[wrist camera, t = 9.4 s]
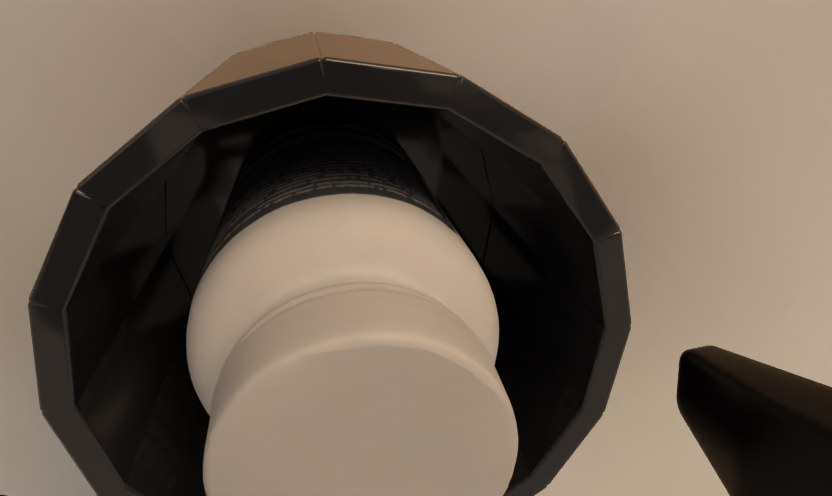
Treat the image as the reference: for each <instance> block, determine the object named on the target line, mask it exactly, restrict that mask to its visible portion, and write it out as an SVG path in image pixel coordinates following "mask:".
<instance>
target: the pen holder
mask: <svg viewBox="0 0 832 496" xmlns="http://www.w3.org/2000/svg"><path fill="white" fill-rule="evenodd" d="M329 123H335V124H347V125H353V126H357V127H361V128H364V129H367V130H370V131H372V132H374V133H377V134H379V135H381V136H383V137H384V138H386V139H387V140H389V141H390V142H392V143H393V144H395V145H396V146H397V147H398V148H400V149H401V150H402V151H403V152H404V153H405V154H406V155H407V156H408V157H409V158H410V160H411V161H412V162H413V163H414V165H415V166H416V167H417V169H418V170H419V172H420V173H421V175H422V176H423V178H424V180H425V181H426V183H427V185H428V187H429V189H430V190H431V192H432V194H433V195H434V197H435V199H436V200H437V202H438V204H439V205H440V207H441V209H442V210H443V212H444V214H445V215H446V217H447V218H448V220H449V221H450V222H451V224H452V225H453V227H454V228H455V230H456V231H457V232H458V234H459V235H460V237H461V238H462V240H463V241H464V242H465V244H466V245H467V247H468V248H469V250H470V251H471V252H472V254H473V255H474V257H475V259H476V260H477V262H478V264H479V265H480V267H481V269H482V270H483V272H484V274H485V276H486V278H487V280H488V282H489V285H490V287H491V290H492V293H493V295H494V299H495V303H496V308H497V313H498V318H499V343H498V350H497V356H496V360H495V365H494V366H495V369H496V371H497V373H498V375H499V377H500V380H501V382H502V384H503V386H504V389H505V391H506V393H507V396H508V398H509V400H510V403H511V406H512V409H513V412H514V416H515V420H516V424H517V432H518V452H517V458H516V463H515V467H514V471H513V474H512V477H511V480H510V482H509V484H508V488H507V490H506V491H505V493H504V495H503V496H534V495H536V494H537V493H539V492H540V491H542V490H543V489H545V488H546V487H547V485H548V484H550V482H551V481H552V480H553V478H554V477H555V476H556V475H557V473H558V472H559V471H560V469H561V468H562V467H563V466H564V464H565V463H566V462H567V460H568V459H569V458H570V457H571V455H572V454H573V453H574V451H575V450H576V449H577V447H578V446H579V445H580V444H581V442H582V441H583V440H584V438H585V437H586V436H587V435H588V433H589V432H590V431H591V429H592V428H593V427H594V426H595V424H596V423H597V422H598V420H599V419H600V418H601V417H602V414H603V412H604V411H605V408H606V405H607V402H608V399H609V396H610V393H611V389H612V386H613V383H614V380H615V377H616V374H617V370H618V367H619V364H620V361H621V358H622V355H623V351H624V348H625V345H626V342H627V339H628V335H629V332H630V329H631V326H630V325H631V316H630V307H629V298H628V288H627V279H626V270H625V261H624V252H623V243H622V233H621V231H620V228H619V225H618V223H617V222H616V220H615V219H614V217H613V216H612V214H611V212H610V211H609V209H608V208H607V206H606V204H605V203H604V201H603V200H602V198H601V196H600V195H599V193H598V192H597V190H596V189H595V187H594V185H593V184H592V182H591V181H590V179H589V177H588V176H587V174H586V173H585V171H584V170H583V168H582V166H581V165H580V163H579V162H578V160H577V158H576V157H575V155H574V154H573V152H572V151H571V149H570V147H569V146H568V144H567V143H566V142H565V141H564V140H563V139H562V138H561V137H560V136H559V135H557V134H555V133H554V132H552V131H551V130H549V129H547V128H546V127H544V126H543V125H541V124H539V123H538V122H536V121H535V120H533V119H531V118H530V117H528V116H526V115H525V114H523V113H522V112H520V111H518V110H517V109H515V108H514V107H512V106H510V105H509V104H507V103H506V102H504V101H502V100H501V99H499V98H498V97H496V96H494V95H493V94H491V93H489V92H488V91H486V90H485V89H483V88H481V87H480V86H478V85H477V84H475V83H473V82H472V81H470V80H469V79H467V78H465V77H464V76H462V75H460V74H458V73H455V72H453V71H451V70H449V69H447V68H445V67H443V66H441V65H439V64H437V63H435V62H433V61H431V60H429V59H427V58H424V57H422V56H420V55H418V54H416V53H414V52H412V51H410V50H408V49H406V48H404V47H402V46H400V45H398V44H394V43H392V42H386V41H379V40H372V39H366V38H361V37H356V36H348V35H336V34H329V33H322V32H315V33H314V32H310V33H307V34H303V35H299V36H296V37H292V38H288V39H283V40H279V41H274V42H272V43H269V44H266V45H263V46H261V47H257V48H254V49H250V50H246V51H243V52H239V53H237V54H236V55H233V56H231V57H230V58H229V59H228V60H226V61H225V62H224V63H223V64H221V65H220V66H219V67H217V68H216V69H215V70H214V71H212V72H211V73H210V74H209V75H207V76H206V77H205V78H204V79H202V80H201V81H200V82H198V83H197V84H196V85H195V86H193V87H192V88H191V89H190V90H188V91H187V92H186V93H185V94H183V95H182V96H181V97H179V98H178V99H177V100H176V101H175V102H173V103H172V104H171V105H170V106H169V107H168V108H166V109H165V110H164V111H163V112H162V113H161V114H159V115H158V116H157V117H156V118H155V119H153V120H152V121H151V122H150V123H149V124H148V125H146V126H145V127H144V128H143V129H142V130H141V131H139V132H138V133H137V134H136V135H135V136H134V137H132V138H131V139H130V140H129V141H128V142H126V143H125V144H124V145H123V146H122V147H121V148H119V149H118V150H117V151H116V152H115V153H114V154H112V155H111V156H110V157H109V158H108V159H107V160H105V161H104V162H103V163H102V164H101V165H99V166H98V167H97V168H96V169H95V170H94V171H92V172H91V173H90V174H89V175H88V176H87V177H85V178H84V179H83V180H82V181H81V182H80V183H78V186H77V188H76V189H74V190H73V192H72V195H71V197H70V199H69V202H68V204H67V207H66V209H65V212H64V214H63V216H62V219H61V221H60V224H59V226H58V229H57V231H56V233H55V236H54V238H53V241H52V243H51V245H50V248H49V250H48V253H47V255H46V258H45V260H44V262H43V265H42V267H41V270H40V272H39V275H38V277H37V279H36V282H35V284H34V287H33V289H32V291H31V294H30V296H29V304H28V309H29V317H30V326H31V335H32V343H33V352H34V360H35V369H36V377H37V386H38V394H39V403H40V409H41V411H42V414H43V416H44V418H45V419H46V421H47V422H48V424H49V425H50V427H51V428H52V430H53V431H54V433H55V434H56V435H57V437H58V438H59V440H60V441H61V443H62V444H63V446H64V447H65V449H66V450H67V452H68V453H69V455H70V456H71V458H72V459H73V460H74V462H75V463H76V465H77V466H78V468H79V469H80V471H81V472H82V474H83V475H84V477H85V478H86V480H87V481H88V483H89V484H90V485H91V487H92V488H93V490H94V491H95V493H96V494H97V496H206V493H205V488H204V483H203V460H204V449H205V444H206V438H207V432H208V427H209V421H210V416H209V414H208V413H207V411H206V410H205V408H204V406H203V405H202V403H201V401H200V399H199V397H198V395H197V393H196V391H195V388H194V386H193V383H192V380H191V376H190V372H189V367H188V361H187V351H186V332H187V324H188V318H189V312H190V307H191V303H192V298H193V295H194V292H195V290H196V287H197V284H198V281H199V279H200V276H201V273H202V270H203V268H204V265H205V262H206V259H207V257H208V254H209V251H210V248H211V245H212V243H213V240H214V237H215V234H216V232H217V229H218V226H219V223H220V220H221V218H222V215H223V212H224V210H225V207H226V204H227V201H228V198H229V195H230V193H231V190H232V187H233V186H234V183H235V181H236V179H237V178H238V176H239V174H240V172H241V171H242V169H243V168H244V166H245V165H246V164H247V162H248V161H249V160H250V159H251V158H252V157H253V156H254V155H255V154H256V153H257V152H258V151H259V150H260V149H261V148H262V147H263V146H265V145H266V144H268V143H269V142H271V141H272V140H274V139H275V138H277V137H279V136H281V135H283V134H285V133H287V132H290V131H292V130H295V129H298V128H301V127H305V126H310V125H316V124H329Z"/></svg>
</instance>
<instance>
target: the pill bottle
mask: <svg viewBox="0 0 832 496" xmlns="http://www.w3.org/2000/svg"><path fill="white" fill-rule="evenodd" d="M498 343H499V318H498V313H497V308H496V303H495V299H494V295H493V293H492V290H491V287H490V285H489V282H488V280H487V278H486V276H485V274H484V272H483V270H482V269H481V267H480V265H479V264H478V262H477V260H476V259H475V257H474V255H473V254H472V252H471V251H470V250H469V248H468V247H467V245H466V244H465V242H464V241H463V240H462V238H461V237H460V235H459V234H458V232H457V231H456V230H455V228H454V227H453V225H452V224H451V222H450V221H449V220H448V218H447V217H446V215H445V214H444V212H443V210H442V209H441V207H440V205H439V204H438V202H437V200H436V199H435V197H434V195H433V194H432V192H431V190H430V189H429V187H428V185H427V183H426V181H425V180H424V178H423V176H422V175H421V173H420V172H419V170H418V169H417V167H416V166H415V165H414V163H413V162H412V161H411V160H410V158H409V157H408V156H407V155H406V154H405V153H404V152H403V151H402V150H401V149H400V148H398V147H397V146H396V145H395V144H393V143H392V142H390V141H389V140H387V139H386V138H384V137H383V136H381V135H379V134H377V133H374V132H372V131H370V130H367V129H364V128H361V127H357V126H353V125H347V124H335V123H329V124H316V125H310V126H305V127H301V128H298V129H295V130H292V131H290V132H287V133H285V134H283V135H281V136H279V137H277V138H275V139H274V140H272V141H271V142H269V143H268V144H266V145H265V146H263V147H262V148H261V149H260V150H259V151H258V152H257V153H256V154H255V155H254V156H253V157H252V158H251V159H250V160H249V161H248V162H247V164H246V165H245V166H244V168H243V169H242V171H241V172H240V174H239V176H238V178H237V179H236V181H235V183H234V186H233V187H232V190H231V193H230V195H229V198H228V201H227V204H226V207H225V210H224V212H223V215H222V218H221V220H220V223H219V226H218V229H217V232H216V234H215V237H214V240H213V243H212V245H211V248H210V251H209V254H208V257H207V259H206V262H205V265H204V268H203V270H202V273H201V276H200V279H199V281H198V284H197V287H196V290H195V292H194V295H193V298H192V303H191V307H190V312H189V318H188V324H187V332H186V351H187V361H188V367H189V372H190V376H191V380H192V383H193V386H194V388H195V391H196V393H197V395H198V397H199V399H200V401H201V403H202V405H203V406H204V408H205V410H206V411H207V413H208V414H209V416H210V421H209V427H208V432H207V438H206V444H205V449H204V460H203V483H204V488H205V493H206V496H503V495H504V493H505V491H506V490H507V488H508V484H509V482H510V480H511V477H512V474H513V471H514V467H515V463H516V458H517V452H518V432H517V424H516V420H515V416H514V412H513V409H512V406H511V403H510V400H509V398H508V396H507V393H506V391H505V389H504V386H503V384H502V382H501V380H500V377H499V375H498V373H497V371H496V369H495V366H494V365H495V360H496V356H497V350H498Z"/></svg>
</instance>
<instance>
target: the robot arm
mask: <svg viewBox="0 0 832 496" xmlns="http://www.w3.org/2000/svg"><path fill="white" fill-rule="evenodd" d="M677 404H678V408H679V410H680V413H681V415H682V417H683V418H684V420H685V422H686V423H687V425H688V427H689V428H690V430H691V432H692V433H693V435H694V437H695V438H696V440H697V442H698V443H699V445H700V447H701V448H702V450H703V452H704V453H705V455H706V457H707V458H708V460H709V462H710V463H711V465H712V466H713V468H714V470H715V471H716V473H717V475H718V476H719V478H720V480H721V481H722V483H723V485H724V486H725V488H726V490H727V491H728V493H729V495H730V496H832V387H829V386H827V385H824V384H821V383H818V382H815V381H812V380H809V379H807V378H804V377H801V376H798V375H795V374H792V373H790V372H787V371H784V370H781V369H778V368H775V367H772V366H770V365H767V364H764V363H761V362H758V361H755V360H753V359H750V358H747V357H744V356H741V355H738V354H735V353H733V352H730V351H727V350H724V349H721V348H718V347H715V346H703V347H698V348H693V349H689V350H686V351H684V352H683V353H682V355H681V357H680V361H679V372H678V385H677ZM0 496H6V495H0Z"/></svg>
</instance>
